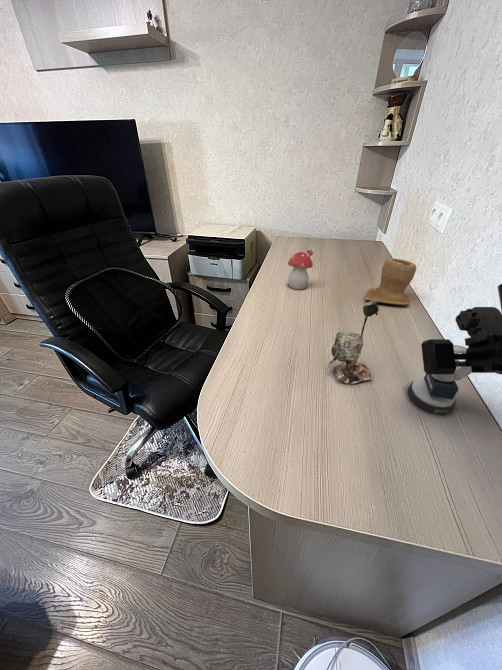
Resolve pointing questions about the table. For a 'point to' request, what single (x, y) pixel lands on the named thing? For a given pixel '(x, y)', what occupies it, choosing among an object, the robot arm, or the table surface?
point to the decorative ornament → (300, 269)
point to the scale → (428, 399)
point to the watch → (447, 379)
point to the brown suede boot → (393, 282)
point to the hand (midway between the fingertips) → (445, 361)
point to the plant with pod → (351, 351)
